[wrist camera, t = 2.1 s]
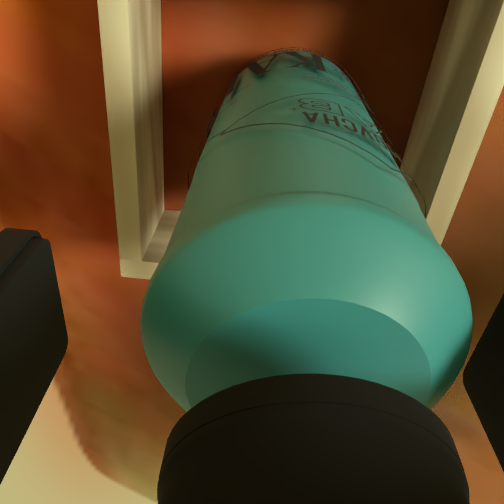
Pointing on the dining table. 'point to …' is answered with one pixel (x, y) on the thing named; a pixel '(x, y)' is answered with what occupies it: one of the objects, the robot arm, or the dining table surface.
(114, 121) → the wooden frame
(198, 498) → the beverage bottle
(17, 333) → the robot arm
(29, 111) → the dining table surface
